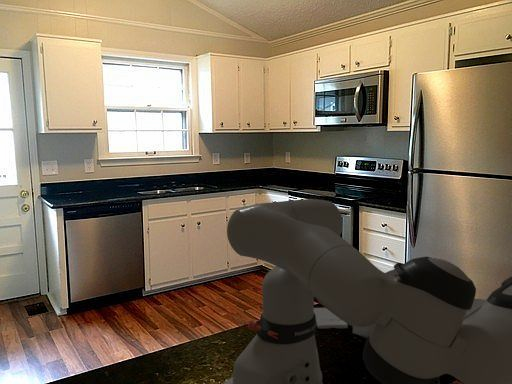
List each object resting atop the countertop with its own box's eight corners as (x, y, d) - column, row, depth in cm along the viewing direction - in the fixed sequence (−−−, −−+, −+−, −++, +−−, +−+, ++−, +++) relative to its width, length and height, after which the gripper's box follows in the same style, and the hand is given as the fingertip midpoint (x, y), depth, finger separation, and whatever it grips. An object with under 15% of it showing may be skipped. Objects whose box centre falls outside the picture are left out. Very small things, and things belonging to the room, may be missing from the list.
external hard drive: (339, 312, 132) (347, 330, 119) (312, 313, 132) (318, 330, 120) (339, 307, 132) (347, 324, 119) (312, 307, 132) (318, 325, 119)
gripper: (477, 352, 97) (418, 333, 107) (510, 325, 111) (455, 310, 121) (478, 325, 96) (419, 309, 107) (511, 301, 110) (455, 288, 120)
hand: (438, 309), depth 114 cm, fingers closed on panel, 5 cm apart
